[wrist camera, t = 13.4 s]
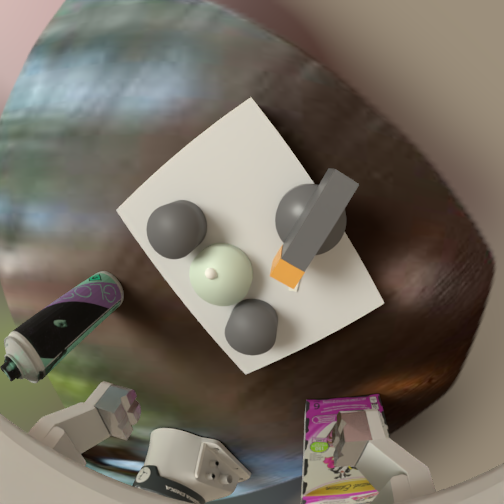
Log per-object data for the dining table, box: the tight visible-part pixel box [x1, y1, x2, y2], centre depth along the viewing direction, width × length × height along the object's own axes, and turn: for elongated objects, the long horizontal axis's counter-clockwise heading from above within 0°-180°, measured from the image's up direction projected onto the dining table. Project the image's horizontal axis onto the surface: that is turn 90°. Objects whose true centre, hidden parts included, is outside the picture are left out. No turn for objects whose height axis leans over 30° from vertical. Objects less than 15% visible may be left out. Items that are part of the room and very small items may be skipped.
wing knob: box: [270, 168, 359, 289], centre depth 22 cm, size 9×6×6 cm, turn 152°
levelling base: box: [116, 98, 384, 375], centre depth 27 cm, size 24×18×6 cm
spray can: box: [1, 271, 124, 383], centre depth 25 cm, size 6×6×20 cm
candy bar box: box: [300, 394, 390, 504], centre depth 28 cm, size 11×5×16 cm, turn 95°
